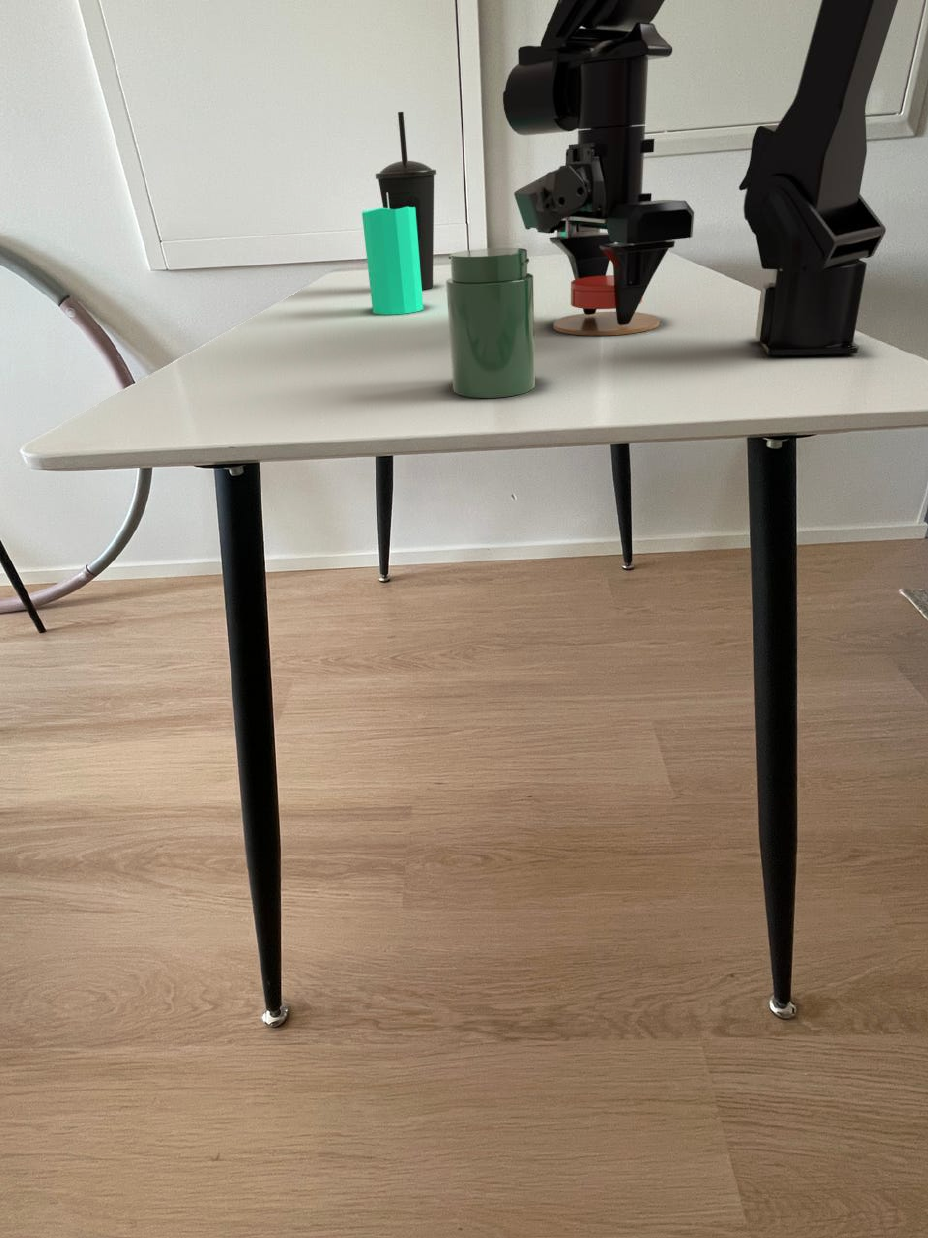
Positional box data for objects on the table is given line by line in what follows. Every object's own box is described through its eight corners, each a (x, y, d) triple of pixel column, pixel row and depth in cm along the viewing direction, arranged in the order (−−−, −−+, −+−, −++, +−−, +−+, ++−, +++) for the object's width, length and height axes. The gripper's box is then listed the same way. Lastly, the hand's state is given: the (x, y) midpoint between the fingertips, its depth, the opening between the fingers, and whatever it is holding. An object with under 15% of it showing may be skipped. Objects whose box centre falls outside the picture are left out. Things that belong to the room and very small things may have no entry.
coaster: (657, 314, 80) (657, 309, 79) (660, 334, 71) (661, 329, 71) (557, 317, 81) (557, 313, 81) (549, 337, 73) (549, 332, 73)
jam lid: (588, 312, 72) (588, 288, 71) (558, 302, 77) (558, 279, 76) (654, 303, 73) (656, 280, 72) (621, 294, 79) (622, 272, 78)
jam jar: (538, 376, 60) (537, 245, 56) (530, 397, 55) (527, 254, 51) (461, 378, 61) (453, 249, 57) (446, 398, 56) (436, 259, 52)
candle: (416, 313, 89) (406, 191, 83) (365, 315, 90) (351, 195, 84) (429, 304, 94) (420, 189, 88) (381, 306, 95) (368, 192, 89)
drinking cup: (454, 284, 107) (444, 109, 97) (422, 293, 102) (407, 108, 92) (409, 283, 111) (394, 114, 101) (375, 291, 106) (356, 114, 96)
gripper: (485, 138, 74) (492, 315, 82) (575, 127, 58) (573, 346, 66) (592, 131, 77) (589, 303, 85) (705, 119, 61) (689, 330, 69)
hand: (605, 318), depth 76 cm, fingers closed on jam lid, 6 cm apart
